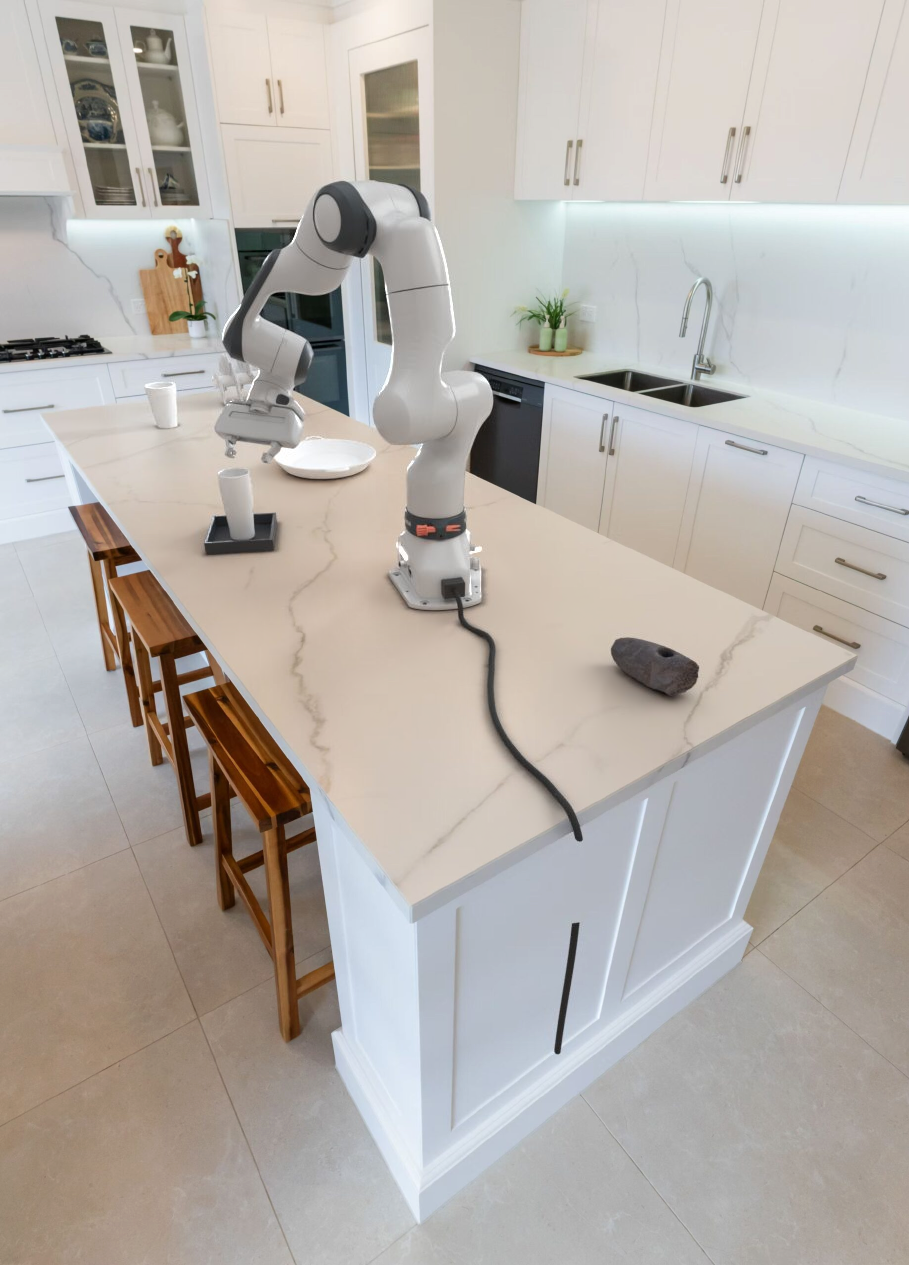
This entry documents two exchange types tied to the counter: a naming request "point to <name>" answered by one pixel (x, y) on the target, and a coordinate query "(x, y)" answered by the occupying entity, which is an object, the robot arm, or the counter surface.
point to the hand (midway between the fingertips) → (247, 459)
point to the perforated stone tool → (655, 665)
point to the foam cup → (163, 403)
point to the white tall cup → (237, 502)
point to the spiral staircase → (233, 376)
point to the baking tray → (224, 544)
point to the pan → (325, 458)
